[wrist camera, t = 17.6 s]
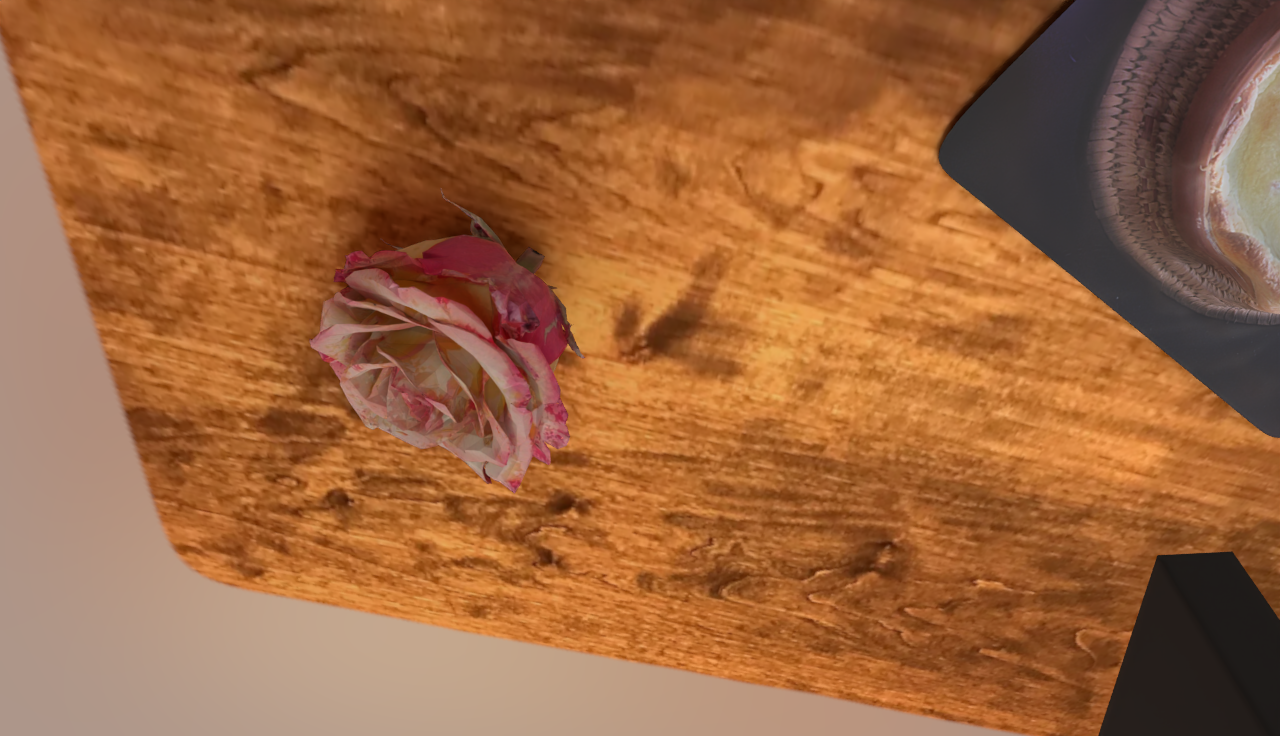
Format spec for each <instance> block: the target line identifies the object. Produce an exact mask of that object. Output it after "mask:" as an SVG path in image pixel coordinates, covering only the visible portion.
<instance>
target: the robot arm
mask: <svg viewBox="0 0 1280 736" xmlns="http://www.w3.org/2000/svg"><path fill="white" fill-rule="evenodd" d="M1098 736H1280V620H1279V618H1278V617H1277V616H1276V614H1275V613H1274V611H1273V610H1272V608H1271V607H1270V605H1269V604H1268V603H1267V601H1266V600H1265V598H1264V597H1263V595H1262V594H1261V592H1260V591H1259V590H1258V588H1257V587H1256V585H1255V584H1254V582H1253V581H1252V579H1251V578H1250V577H1249V575H1248V574H1247V572H1246V571H1245V569H1244V568H1243V566H1242V565H1241V564H1240V562H1239V561H1238V559H1237V558H1236V556H1235V555H1234V553H1233V552H1216V553H1196V554H1176V555H1158V556H1157V559H1156V562H1155V565H1154V568H1153V571H1152V574H1151V577H1150V580H1149V583H1148V586H1147V589H1146V592H1145V595H1144V598H1143V601H1142V604H1141V607H1140V610H1139V613H1138V617H1137V620H1136V623H1135V626H1134V629H1133V632H1132V635H1131V638H1130V641H1129V644H1128V647H1127V650H1126V653H1125V656H1124V659H1123V662H1122V665H1121V668H1120V671H1119V674H1118V677H1117V680H1116V684H1115V687H1114V690H1113V693H1112V696H1111V699H1110V702H1109V705H1108V708H1107V711H1106V714H1105V717H1104V720H1103V723H1102V726H1101V729H1100V732H1099V735H1098Z"/></svg>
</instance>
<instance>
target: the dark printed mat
mask: <svg viewBox="0 0 1280 736" xmlns="http://www.w3.org/2000/svg"><path fill="white" fill-rule="evenodd" d="M939 162H940V164H941V166H942V168H943V169H944V170H945V172H946V173H947V174H948V175H949V176H951V177H952V178H953V179H954V180H955V181H956V182H958V183H959V184H960V185H961V186H962V187H964V188H965V189H966V190H967V191H969V192H970V193H971V194H972V195H974V196H975V197H976V198H977V199H978V200H980V201H981V202H982V203H983V204H985V205H986V206H987V207H988V208H990V209H991V210H992V211H993V212H994V213H996V214H997V215H998V216H999V217H1001V218H1002V219H1003V220H1004V221H1006V222H1007V223H1008V224H1009V225H1010V226H1012V227H1013V228H1014V229H1015V230H1017V231H1018V232H1019V233H1020V234H1021V235H1023V236H1024V237H1025V238H1026V239H1028V240H1029V241H1030V242H1031V243H1033V244H1034V245H1035V246H1036V247H1037V248H1039V249H1040V250H1041V251H1042V252H1044V253H1045V254H1046V255H1047V256H1048V257H1050V258H1051V259H1052V260H1053V261H1055V262H1056V263H1057V264H1058V265H1059V266H1061V267H1062V268H1063V269H1064V270H1066V271H1067V272H1068V273H1069V274H1070V275H1072V276H1073V277H1074V278H1075V279H1077V280H1078V281H1079V282H1080V283H1081V284H1083V285H1084V286H1085V287H1086V288H1088V289H1089V290H1090V291H1091V292H1092V293H1094V294H1095V295H1096V296H1097V297H1099V298H1100V299H1101V300H1102V301H1103V302H1105V303H1106V304H1107V305H1108V306H1110V307H1111V308H1112V309H1113V310H1114V311H1116V312H1117V313H1118V314H1119V315H1120V316H1122V317H1123V318H1124V319H1125V320H1127V321H1128V322H1129V323H1130V324H1131V325H1133V326H1134V327H1135V328H1136V329H1138V330H1139V331H1140V332H1141V333H1142V334H1144V335H1145V336H1146V337H1147V338H1149V339H1150V340H1151V341H1152V342H1153V343H1155V344H1156V345H1157V346H1158V347H1159V348H1161V349H1162V350H1163V351H1164V352H1166V353H1167V354H1168V355H1169V356H1170V357H1172V358H1173V359H1174V360H1175V361H1176V362H1178V363H1179V364H1180V365H1181V366H1183V367H1184V368H1185V369H1186V370H1187V371H1189V372H1190V373H1191V374H1192V375H1194V376H1195V377H1196V378H1197V379H1198V380H1200V381H1201V382H1202V383H1203V384H1204V385H1206V386H1207V387H1208V388H1209V389H1211V390H1212V391H1213V392H1214V393H1215V394H1217V395H1218V396H1219V397H1220V398H1221V399H1223V400H1224V401H1225V402H1226V403H1228V404H1229V405H1230V406H1231V407H1232V408H1234V409H1235V410H1236V411H1237V412H1238V413H1240V414H1241V415H1242V416H1243V417H1245V418H1246V419H1247V420H1248V421H1249V422H1251V423H1252V424H1253V425H1254V426H1256V427H1257V428H1258V429H1259V430H1261V431H1262V432H1264V433H1265V434H1267V435H1269V436H1272V437H1276V438H1280V0H1076V1H1075V2H1074V3H1073V4H1072V5H1071V6H1070V7H1069V8H1068V9H1067V10H1066V11H1065V12H1064V13H1063V14H1062V15H1061V16H1060V17H1059V18H1058V19H1057V20H1056V21H1055V22H1054V23H1053V24H1052V25H1051V26H1050V27H1049V28H1048V29H1047V30H1046V31H1045V32H1044V33H1043V34H1042V35H1041V36H1040V37H1039V38H1038V39H1037V40H1036V41H1035V42H1034V43H1033V44H1032V45H1031V46H1030V47H1029V48H1028V49H1027V50H1026V51H1025V52H1024V53H1023V54H1022V55H1021V56H1020V57H1019V58H1018V59H1017V60H1016V61H1015V62H1014V63H1013V64H1012V65H1011V66H1010V67H1009V68H1008V69H1007V70H1006V71H1005V72H1004V73H1003V74H1002V75H1001V76H1000V77H999V78H998V79H997V80H996V81H995V82H994V83H993V84H992V85H991V86H990V87H989V88H988V89H987V90H986V91H985V92H984V93H983V94H982V95H981V96H980V97H979V98H978V99H977V100H976V101H975V103H974V104H973V105H972V106H971V107H970V108H969V109H968V110H967V111H966V112H965V114H964V115H963V116H962V117H961V118H960V119H959V120H958V122H957V123H956V124H955V126H954V127H953V128H952V129H951V131H950V132H949V134H948V135H947V137H946V138H945V140H944V142H943V144H942V146H941V148H940V151H939Z"/></svg>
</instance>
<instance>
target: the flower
mask: <svg viewBox="0 0 1280 736" xmlns="http://www.w3.org/2000/svg"><path fill="white" fill-rule="evenodd" d="M441 193H442V197H443V198H444V199H445V200H446V201H448V202H450V203H452V204H454V205H455V206H457V207H458V208H460V209H461V210H462V211H463V212H464V213H465V214H467V215H468V216H469V217H470V218H471V219H473V220H474V221H473V220H472V221H471V228H470V232H472V234H473V236H470V235H459V236H453V237H448V238H442V239H436V240H425V241H422V242H420V243H417V244H414V245H411V246H409V247H406V248H401V247H396V246H393V245H391V246H393V247H394V248H396V249H398V250H396V251H392V250H382V251H379V252H375V254H374V255H373V256H372V257H367V256H366V255H365V254H364V253H363V252H362V251H355V252H352V253H350V254H349V255H348V256H347V255H345V257H346V258H347V260H346V264H345V267H344V269H335V271H336V273H335V277H334V282H345V283H347V284H348V285H349V286H348V287H346V288H344V289H342V290H341V291H340V292H337V293H335V296H334V297H333V298H331V299H329V300H327V301H323V309H322V316H321V324H320V333H319V334H318V335H317V336H316V337H315V338H314V339H310V345H311V348H313V349H315V350H317V351H318V352H319V354H320V356H321V358H322V360H323V361H326V362H328V363H330V366H331V367H332V368H333V370H334V372H335V373H336V375H337V376H338V378H339V379H340V386H341V387H342V389H343V391H344V393H345V395H346V397H347V399H348V401H349V402H350V404H351V405H352V407H353V408H354V409H355V411H356V412H357V414H358V415H359V416H360V418H361V419H362V421H363V423H364V424H365V426H366V427H368V428H370V429H375V428H377V427H379V429H381V430H383V431H386V432H388V433H390V434H392V435H393V436H395V437H397V438H399V439H401V440H403V441H405V442H407V443H409V444H412V445H414V446H416V447H418V448H421V449H424V448H429V447H434V446H437V445H440V446H442V447H444V448H445V449H447V450H449V451H450V452H452V453H453V454H454V455H456V456H457V457H459V458H460V459H462V460H463V461H464V462H465V463H466V464H468V465H469V466H470V467H471V468H472V469H473V470H474V471H475V472H476V473H477V474H478V475H479V476H480V477H481V478H482V479H483V480H484V481H485V482H486V483H487V484H489V483H491V479H490V477H491V478H492V479H493V480H495V481H498V482H501V483H502V484H503V485H504V486H506V487H507V488H508V489H510V490H511V491H512V492H513V493H515V492H516V490H517V489H518V487H519V486H520V483H521V481H522V479H523V477H524V474H525V472H526V470H527V468H528V466H529V463H530V461H531V459H532V457H533V456H534V457H536V458H537V459H539V460H540V461H542V462H544V463H546V464H548V465H549V464H550V462H551V461H550V450H549V448H548V447H547V446H546V444H545V443H544V442H546V443H548V444H550V445H551V446H553V447H555V448H557V449H559V448H562V447H564V446H567V443H568V441H569V438H570V436H569V432H568V428H567V426H566V425H565V424H566V421H567V418H568V413H567V411H566V409H565V407H564V405H563V403H562V401H561V399H560V387H559V385H558V383H557V380H556V378H555V376H554V374H553V373H554V371H555V368H556V365H557V362H558V359H559V357H560V355H561V354H562V352H563V351H564V350H565V348H566V347H567V344H569V346H570V347H571V349H572V348H573V349H572V350H573V351H575V352H576V354H577V355H578V356H580V357H581V358H585V357H584V356H583V355H582V354H581V353H580V350H579V348H578V346H577V345H576V342H575V340H574V337H573V334H572V332H571V331H570V327H571V325H570V323H569V322H568V321H567V315H566V308H565V306H564V305H563V304H562V302H561V301H560V300H559V299H558V297H557V296H556V295H555V294H554V292H553V291H552V290H551V289H556V288H555V287H552V286H548V285H546V284H545V283H544V282H543V281H542V280H541V279H540V278H538V277H537V276H536V275H534V274H535V272H536V271H537V270H538V269H539V267H540V266H541V264H542V262H543V259H544V257H545V256H543V255H542V254H540V253H538V252H537V251H535V250H533V249H532V248H530V247H528V248H527V249H526V251H525V252H524V253H523V254H522V255H521V256H520V258H519V259H518V260H517V261H516V262H515V261H514V259H513V258H512V257H511V256H510V255H509V253H508V252H507V251H506V249H505V247H504V246H503V244H502V242H501V241H500V239H499V238H498V236H497V235H496V234H495V233H494V232H493V231H492V230H491V228H490V227H489V226H488V225H487V224H486V223H485V222H484V221H483V220H482V219H481V218H480V217H478V216H477V215H475V214H473V213H471V212H469V211H468V210H466V209H464V208H462V207H461V206H459V205H457V204H455V203H453V202H451V201H449V200H448V199H446V198H445V196H444V194H443V192H442V190H441ZM380 239H381V238H380ZM384 242H385V241H384ZM385 243H386V242H385ZM386 244H388V243H386ZM388 245H390V244H388ZM562 325H563V327H564V329H565V330H563V328H562ZM573 325H574V324H573ZM577 349H578V350H577ZM556 403H559V404H556ZM562 437H563V438H562ZM486 462H487V463H486ZM485 464H486V465H485ZM484 466H485V469H484ZM516 488H517V489H516Z"/></svg>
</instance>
